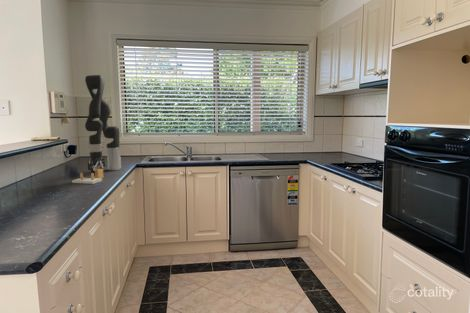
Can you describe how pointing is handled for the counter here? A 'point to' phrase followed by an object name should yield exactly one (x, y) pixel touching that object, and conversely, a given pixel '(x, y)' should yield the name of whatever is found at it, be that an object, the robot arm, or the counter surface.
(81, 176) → the base
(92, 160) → the robot arm
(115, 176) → the counter surface
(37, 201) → the counter surface
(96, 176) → the light orange block
